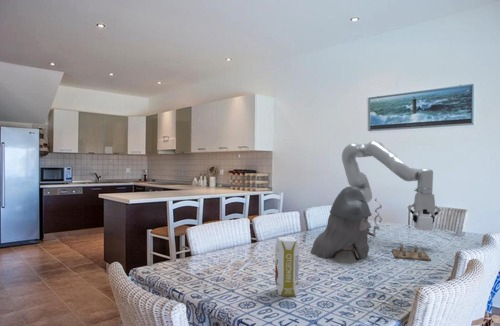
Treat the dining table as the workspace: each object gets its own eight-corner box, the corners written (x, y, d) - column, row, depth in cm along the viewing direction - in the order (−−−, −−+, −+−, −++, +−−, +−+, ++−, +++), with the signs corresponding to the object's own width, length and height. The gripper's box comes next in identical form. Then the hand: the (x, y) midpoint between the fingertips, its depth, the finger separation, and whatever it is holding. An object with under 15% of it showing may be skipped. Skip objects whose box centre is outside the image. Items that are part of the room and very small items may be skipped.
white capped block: (427, 228, 191) (428, 207, 191) (432, 230, 184) (433, 208, 184) (413, 227, 192) (414, 206, 192) (418, 229, 185) (419, 208, 185)
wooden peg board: (395, 258, 168) (395, 249, 168) (391, 250, 183) (391, 242, 183) (431, 261, 163) (431, 252, 163) (424, 253, 179) (424, 244, 179)
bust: (385, 266, 154) (386, 189, 155) (310, 261, 161) (310, 187, 161) (373, 248, 187) (374, 185, 188) (311, 245, 194) (311, 184, 194)
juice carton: (294, 288, 124) (295, 236, 124) (299, 297, 116) (299, 241, 116) (274, 288, 124) (275, 236, 124) (277, 297, 115) (277, 241, 116)
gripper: (408, 190, 187) (407, 222, 187) (444, 192, 182) (442, 225, 182) (406, 189, 194) (405, 220, 194) (440, 191, 189) (439, 223, 189)
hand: (423, 222), depth 188 cm, fingers closed on white capped block, 7 cm apart
